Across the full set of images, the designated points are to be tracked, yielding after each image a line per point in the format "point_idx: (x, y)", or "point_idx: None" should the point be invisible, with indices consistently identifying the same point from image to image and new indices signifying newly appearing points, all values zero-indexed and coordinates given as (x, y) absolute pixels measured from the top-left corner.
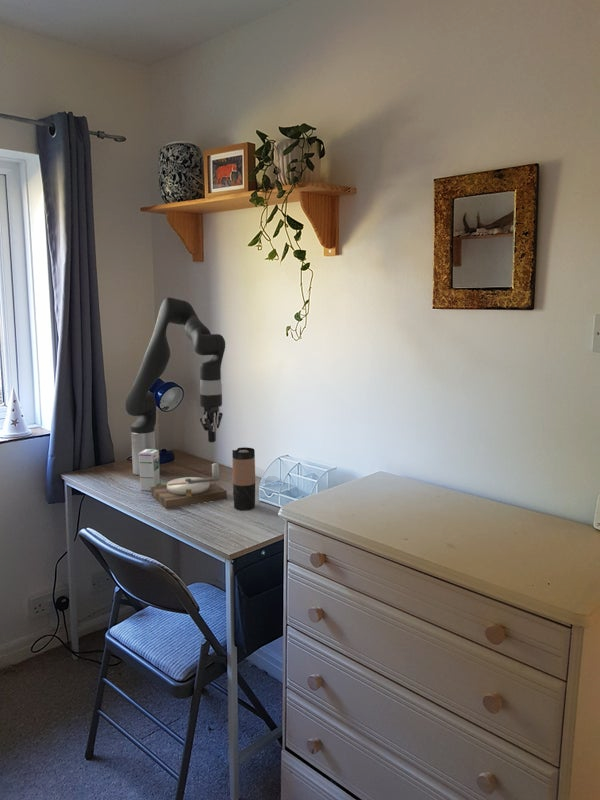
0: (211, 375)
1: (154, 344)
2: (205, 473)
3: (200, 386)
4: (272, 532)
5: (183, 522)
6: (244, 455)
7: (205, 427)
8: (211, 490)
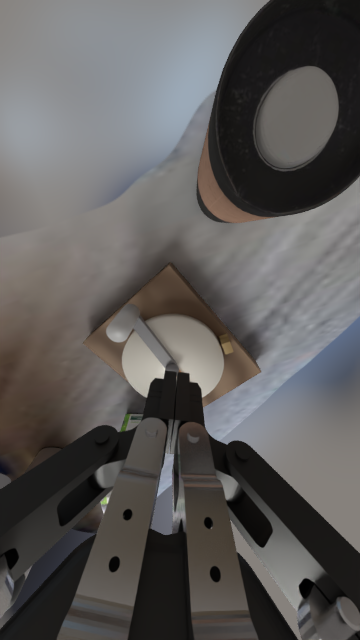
0: None
1: None
2: (6, 369)
3: None
4: None
5: (338, 302)
6: None
7: (249, 506)
8: (173, 304)
